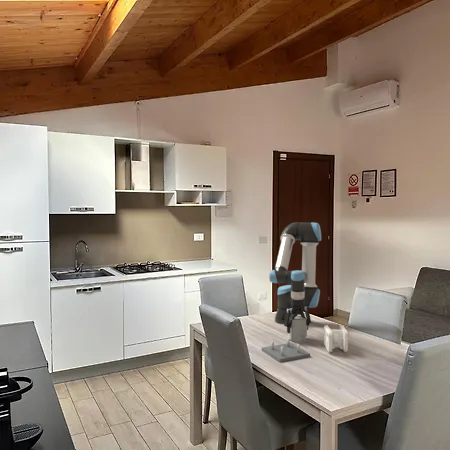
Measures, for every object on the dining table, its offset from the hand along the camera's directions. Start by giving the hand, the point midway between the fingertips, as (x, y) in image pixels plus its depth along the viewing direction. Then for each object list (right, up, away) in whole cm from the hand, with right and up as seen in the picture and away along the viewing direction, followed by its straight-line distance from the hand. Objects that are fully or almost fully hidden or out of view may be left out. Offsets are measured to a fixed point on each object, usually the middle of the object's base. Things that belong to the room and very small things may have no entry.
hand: (297, 337), depth 245 cm
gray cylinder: (0, -1, 0) cm, 1 cm away
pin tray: (-10, -3, -22) cm, 24 cm away
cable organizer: (+17, -3, -16) cm, 24 cm away
